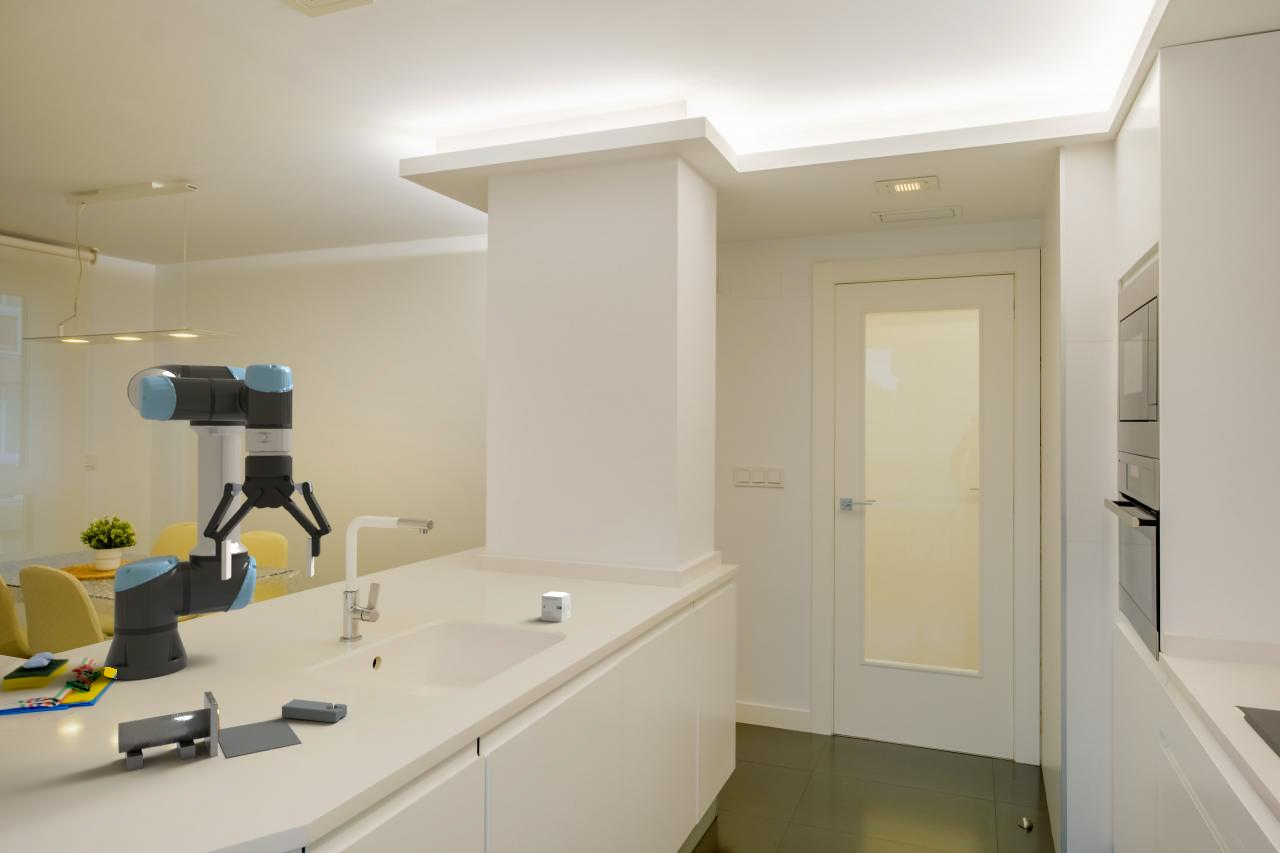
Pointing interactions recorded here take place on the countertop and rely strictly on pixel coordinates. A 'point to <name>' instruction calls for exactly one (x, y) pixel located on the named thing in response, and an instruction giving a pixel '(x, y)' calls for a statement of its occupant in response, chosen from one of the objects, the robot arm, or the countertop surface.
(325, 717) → the bracket
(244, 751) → the mount pad
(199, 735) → the pipe fixture
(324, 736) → the countertop surface
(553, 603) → the skincare box
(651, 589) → the countertop surface
